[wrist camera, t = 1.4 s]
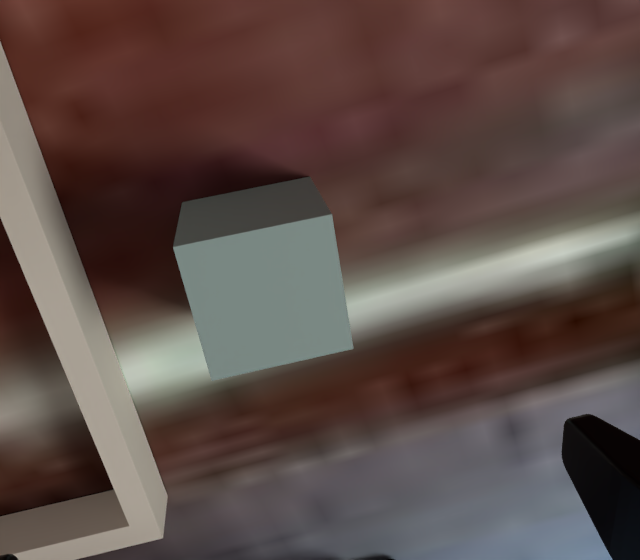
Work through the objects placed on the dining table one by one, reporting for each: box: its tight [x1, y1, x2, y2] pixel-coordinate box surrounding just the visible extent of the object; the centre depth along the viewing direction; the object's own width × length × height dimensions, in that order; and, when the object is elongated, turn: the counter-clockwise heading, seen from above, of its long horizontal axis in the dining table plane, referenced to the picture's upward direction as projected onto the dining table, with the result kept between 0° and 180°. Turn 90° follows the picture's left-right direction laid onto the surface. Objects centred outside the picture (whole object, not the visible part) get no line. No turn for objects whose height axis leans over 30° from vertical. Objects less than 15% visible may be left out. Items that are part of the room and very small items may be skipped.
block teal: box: [173, 177, 353, 381], centre depth 19 cm, size 4×4×4 cm
